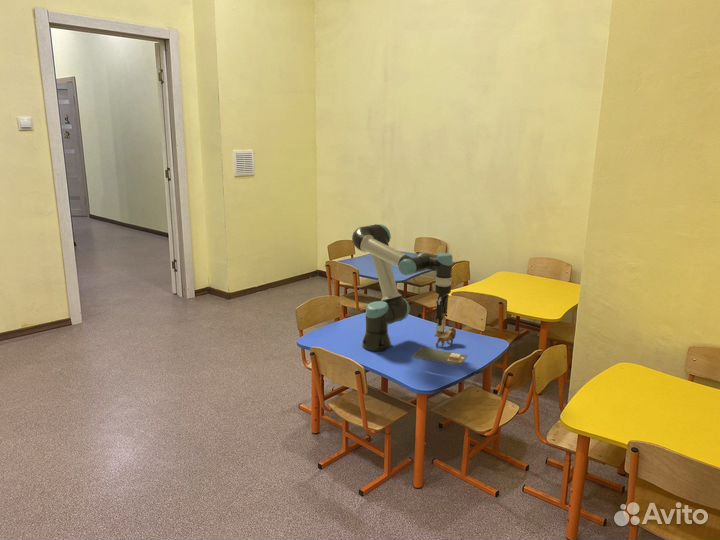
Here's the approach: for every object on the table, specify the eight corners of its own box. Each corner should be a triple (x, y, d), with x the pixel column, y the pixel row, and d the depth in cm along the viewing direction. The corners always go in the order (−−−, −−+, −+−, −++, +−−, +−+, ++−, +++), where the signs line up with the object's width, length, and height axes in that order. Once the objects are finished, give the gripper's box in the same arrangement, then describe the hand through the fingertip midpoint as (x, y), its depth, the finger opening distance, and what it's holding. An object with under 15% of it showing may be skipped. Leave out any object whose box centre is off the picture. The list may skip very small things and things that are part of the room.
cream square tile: (448, 359, 267) (448, 356, 266) (451, 356, 271) (451, 352, 271) (458, 361, 265) (458, 358, 264) (461, 357, 269) (461, 354, 269)
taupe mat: (412, 358, 270) (412, 357, 270) (421, 348, 282) (421, 347, 282) (461, 367, 260) (461, 365, 260) (467, 356, 272) (467, 355, 272)
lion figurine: (449, 341, 292) (450, 325, 290) (457, 343, 289) (458, 328, 287) (432, 348, 283) (433, 332, 280) (440, 351, 279) (441, 334, 277)
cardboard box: (434, 336, 265) (436, 315, 262) (439, 330, 273) (441, 310, 270) (446, 338, 263) (448, 317, 260) (451, 332, 270) (452, 312, 268)
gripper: (446, 290, 253) (443, 336, 259) (455, 281, 267) (452, 325, 273) (431, 288, 256) (428, 334, 262) (440, 279, 270) (438, 323, 276)
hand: (441, 329), depth 268 cm, fingers closed on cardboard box, 3 cm apart
